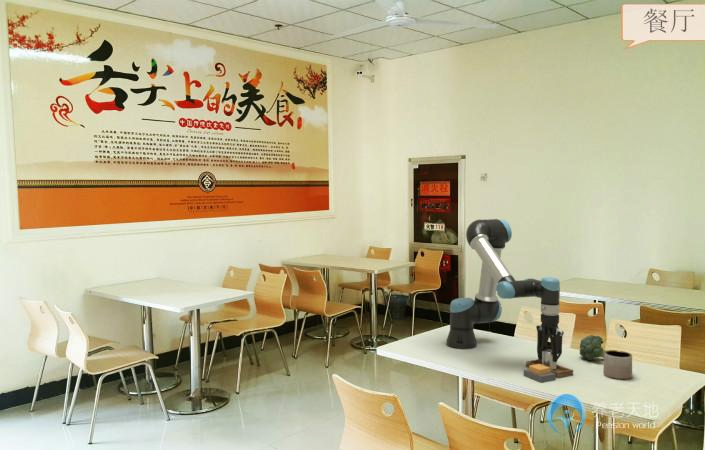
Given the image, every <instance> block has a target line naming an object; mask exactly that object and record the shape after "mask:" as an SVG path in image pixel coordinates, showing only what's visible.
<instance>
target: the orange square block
mask: <svg viewBox="0 0 705 450" xmlns="http://www.w3.org/2000/svg"><path fill="white" fill-rule="evenodd" d="M528 369H529V371H530V372H533V373H535V374H538V375H543V374H548V373H550V367H547V366H544V365H541V364H536V365H530V366H529V367H528Z"/></svg>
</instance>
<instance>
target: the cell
mask: <svg viewBox="0 0 705 450" xmlns="http://www.w3.org/2000/svg"><path fill="white" fill-rule="evenodd" d="M551 353H552V350H550V349H548V350H544V366H547V367H550V356H551ZM550 370H553V371H554V370H555V369H550Z"/></svg>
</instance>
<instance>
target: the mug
mask: <svg viewBox="0 0 705 450" xmlns="http://www.w3.org/2000/svg"><path fill="white" fill-rule="evenodd" d="M547 349H550V350H552V349H551V341H548V345H547ZM536 352H537V353H536V354H537V359H542V357H541V349H540V348H538V342H537V344H536ZM562 353H563V352H562ZM562 353H560V354H558V355H557V361H558V360H559V359H560V358H561V356H562Z"/></svg>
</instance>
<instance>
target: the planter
mask: <svg viewBox="0 0 705 450" xmlns="http://www.w3.org/2000/svg"><path fill="white" fill-rule="evenodd" d="M602 369H603V375H604V376H605V377H607V378H610V379H613V380H618V379H620V380H621V381H622V380H623V381H625V380H626V379H627V380H630V379H631V378H632V377H633V355H632V353H629V352H627V351H622V350H614V349H612V350H611V349H610V350H607V351H605V352H604V358H603V368H602ZM620 380H619V381H620ZM627 380H626V381H627Z"/></svg>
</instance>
